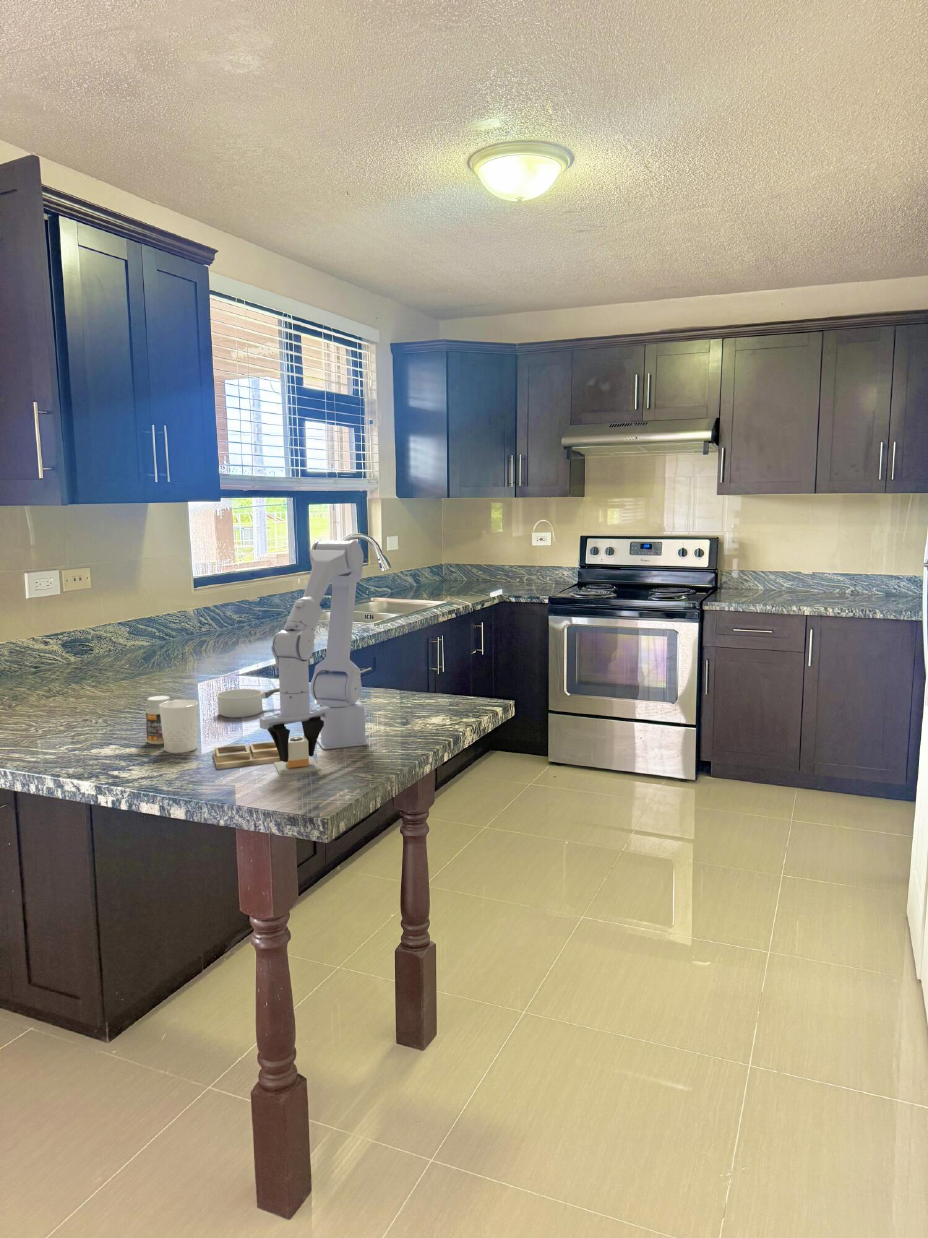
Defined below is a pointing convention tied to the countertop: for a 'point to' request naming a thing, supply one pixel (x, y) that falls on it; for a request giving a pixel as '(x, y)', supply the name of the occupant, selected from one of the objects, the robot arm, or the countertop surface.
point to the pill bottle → (154, 719)
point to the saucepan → (242, 702)
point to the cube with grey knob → (298, 752)
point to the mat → (284, 769)
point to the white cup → (179, 725)
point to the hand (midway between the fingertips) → (296, 758)
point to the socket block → (245, 755)
